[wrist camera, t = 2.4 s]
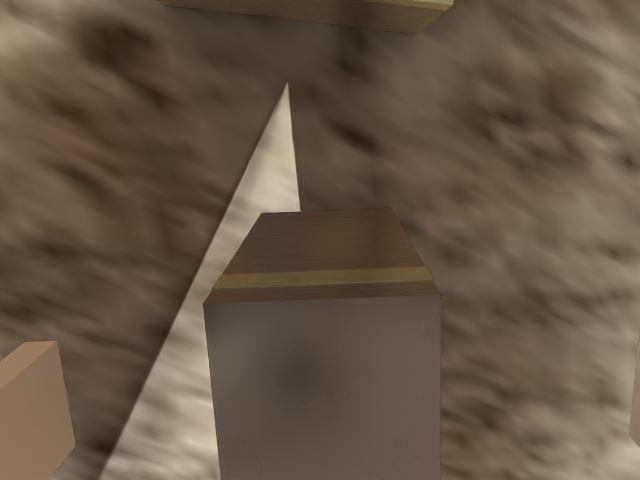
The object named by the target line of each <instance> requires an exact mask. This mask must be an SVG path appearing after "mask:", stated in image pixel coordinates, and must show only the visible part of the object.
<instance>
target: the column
mask: <svg viewBox="0 0 640 480" xmlns="http://www.w3.org/2000/svg"><path fill="white" fill-rule="evenodd" d="M203 309H204V319H205V329H206V339H207V348H208V358H209V368H210V378H211V388H212V397H213V407H214V417H215V427H216V436H217V446H218V456H219V466H220V475H221V480H440V407H441V294H440V292H439V290H438V289H437V287H436V285H435V283H434V282H433V277H432V276H431V274H430V272H429V271H428V269H427V267H425V266H424V264H423V262H422V261H421V259H420V257H419V255H418V254H417V252H416V250H415V249H414V247H413V245H412V243H411V242H410V240H409V238H408V236H407V235H406V233H405V231H404V229H403V228H402V226H401V224H400V222H399V221H398V219H397V217H396V215H395V214H394V212H393V210H392V208H375V209H351V210H327V211H303V212H280V213H261V214H260V216H259V218H258V219H257V221H256V222H255V224H254V225H253V227H252V228H251V230H250V231H249V233H248V235H247V236H246V238H245V239H244V241H243V242H242V244H241V245H240V247H239V249H238V250H237V252H236V253H235V255H234V256H233V258H232V259H231V261H230V263H229V264H228V266H227V267H226V269H225V270H224V272H223V273H222V275H220V276H219V277H218V279H217V280H216V282H215V284H214V285H213V287H212V290H211V292H210V294H209V295H208V297H207V298H206V300H205V301H204V303H203Z"/></svg>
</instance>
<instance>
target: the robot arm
mask: <svg viewBox="0 0 640 480" xmlns="http://www.w3.org/2000/svg"><path fill="white" fill-rule="evenodd" d="M629 436H630V437H631V438H632V439H633V440H634V441H635V442H636V444H637V445H638V446H639V447H640V331H639V341H638V351H637V361H636V370H635V380H634V390H633V400H632V410H631V420H630V430H629ZM75 446H76V445H75V439H74V433H73V428H72V422H71V416H70V411H69V405H68V399H67V394H66V388H65V382H64V376H63V371H62V365H61V359H60V354H59V348H58V342H57V341H38V342H24V343H23V344H22V345H20V346H19V347H18V348H16V349H15V350H14V351H12V352H11V353H10V354H9V355H7V356H6V357H5V358H3V359H2V360H1V361H0V480H50V479H51V477H52V476H53V475H54V474H55V472H56V471H57V470H58V468H59V467H60V466H61V464H62V463H63V462H64V460H65V459H66V458H67V457H68V455H69V454H70V453H71V451H72V450H73V449H74V447H75Z"/></svg>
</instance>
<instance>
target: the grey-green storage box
mask: <svg viewBox="0 0 640 480" xmlns="http://www.w3.org/2000/svg"><path fill="white" fill-rule="evenodd" d="M157 1H159V2H160V3H162V4H164V5H167V6H176V7H184V8H193V9H202V10H210V11H219V12H228V13H236V14H245V15H254V16H262V17H271V18H280V19H288V20H297V21H306V22H315V23H323V24H332V25H341V26H349V27H358V28H367V29H375V30H384V31H393V32H401V33H410V34H418V33H419V32H420V31H422V30H423V29H424V28H425V27H426V26H428V25H429V24H430V23H431V22H433V21H434V20H435V19H436V18H437V17H439V16H440V15H441V14H442V13H444V12H445V11H446V10H447V9H448V8H450V7H451V6H452V5H453V0H157Z"/></svg>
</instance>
